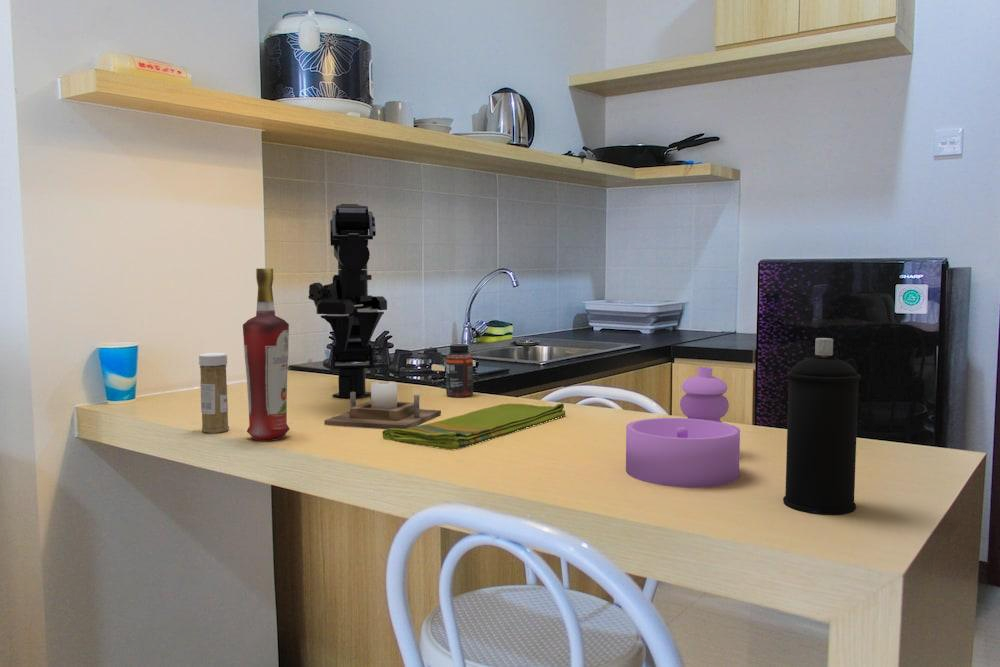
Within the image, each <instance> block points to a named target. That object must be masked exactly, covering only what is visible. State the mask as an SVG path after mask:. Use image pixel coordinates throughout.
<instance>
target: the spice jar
mask: <svg viewBox="0 0 1000 667" xmlns="http://www.w3.org/2000/svg"><path fill="white" fill-rule="evenodd" d="M198 364H199V368H200V369H199V370H200V387H199V388H200V407H201V408H200V411H201V423H202V426H201V431H202V432H203V433H206V434H207V433H208V434H219V433H224V432H227V431H228V430H229V429H230V427H229V413H228V411H229V404H228V403H229V402H228V385H227V384H228V383H227V364H228V355H227V353H225V352H205V353H200V354H199V356H198Z"/></svg>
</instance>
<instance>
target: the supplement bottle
mask: <svg viewBox="0 0 1000 667" xmlns="http://www.w3.org/2000/svg"><path fill="white" fill-rule="evenodd" d="M473 361H474V357H473V355H472V354H471V353H470V352H469V344H468V343H452V344H450V345H449V353H448V354H447V355H446V357H445V382H446V383H445V385H446V386H445V387H446V388H445V392H446V396H448V397H450V398H451V397H453V398H467V397H471V396H473V394H474V362H473Z"/></svg>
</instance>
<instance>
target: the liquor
mask: <svg viewBox="0 0 1000 667" xmlns="http://www.w3.org/2000/svg"><path fill="white" fill-rule="evenodd" d="M255 275H256V276H255V277H256V278H255V279H256V283H257V284H256V285H257V299H256V301H257V302H256V312H255V314H256V315H255V316H253V317H251V318H249V319H247V321H246V322H244V323H243V324H242V336H243V352H244V364H245V373H246V374H245V375H246V385H247V386H246V388H247V403H248V424H249V426H248V428H247V430H246V432H247V434H249V435H250V436H251V437H252V439H254V440H255V441H268V442H270V441H276V440H281V439H283V437H284V436H285V435H286V434H287V433H288V432H289V431H290V426H289V425H288V421H287V420H288V419H287V418H288V416H287V415H288V414H287V413H288V410H287V408H288V406H287V403H288V402H287V401H288V367H289V366H288V365H289V337H290V336H289V335H290V334H289V332H290V331H289V330H290V329H289V328H290V324H289V323H288V322H287V321H286V320H285V319H283V318H282V317H279V316H277V315H276V311H275V303H274V301H275V300H274V295H273V282H274V268H256V269H255Z"/></svg>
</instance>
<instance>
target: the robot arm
mask: <svg viewBox="0 0 1000 667" xmlns="http://www.w3.org/2000/svg"><path fill="white" fill-rule="evenodd" d="M373 214H374V213H373V212H372V211H369V207H368V206H367V205H361V204H358V203H340V204H338V205H336V206H335V210H332V213H331V215H332V216H331V219H330V221H329V222H330V225H329V226H330V227H329V230H330V237H329V238H330V239H329V240H330V247H333V256H334V257H335V259H336V260H337V273H338V274H333V276H332V283H329V284H325V285H323V284H322V283H321V282H314V283H311V284H309V287H308V288H309V289H308V290H309V291H308V299H309V300H312V301H313V303H314V306H315V308H316V310H315V311H316V315H320V318H321V319H324V321H326V322H327V323H329V325H330V327H331V330H332V332H333V336H334V337H335V340H332V342H331V344H332V345H331V346H332V347H331V348H332V350H331V351H332V352H331V353H332V355H331V356H332V370H338V392H336V393H333V394H332V397H333V398H335V397H336V398H349V399H350V392H356V399H360V398H363V397H367V396H371V391H366V369H374V368H375V354H376V352H375V351H376V348H375V346H374V345H373V342H372V340H371V339H372V337H373V334H374V332H375V330H376V328H377V326H378V324H379V322H380V320H381V318H382V316H383V315H384V314H385V311H386V310H388V300H387V299H386V298H385V297H384V296H383V295H382V296H381V295H377V296H375V295H374V296H373V295H372V294H371V295H369V293H368V292H369V291H368V287H369V286H368V281H371V280H373V279H372V274H368V262H369V260H370V255H371V254H370V249H369V247H368V246H369V240H374V237H376V219H375V216H373ZM337 362H338V363H337Z"/></svg>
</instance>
